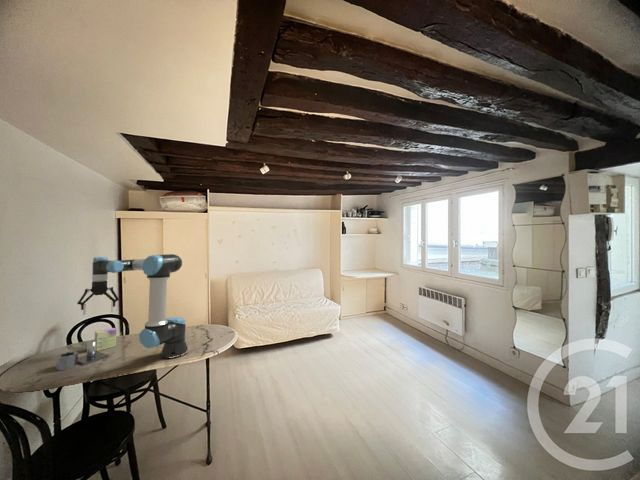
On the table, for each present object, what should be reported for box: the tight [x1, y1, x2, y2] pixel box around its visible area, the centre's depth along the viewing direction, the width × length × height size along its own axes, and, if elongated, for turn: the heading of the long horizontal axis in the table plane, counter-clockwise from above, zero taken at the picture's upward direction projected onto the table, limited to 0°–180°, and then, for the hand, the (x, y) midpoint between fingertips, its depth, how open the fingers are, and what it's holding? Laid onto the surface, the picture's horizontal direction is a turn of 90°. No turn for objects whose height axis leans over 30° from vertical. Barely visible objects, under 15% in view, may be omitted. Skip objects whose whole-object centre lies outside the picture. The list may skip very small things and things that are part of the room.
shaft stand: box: [78, 340, 109, 366], centre depth 153 cm, size 12×12×10 cm
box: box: [94, 327, 118, 352], centre depth 170 cm, size 10×6×12 cm, turn 145°
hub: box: [55, 351, 79, 372], centre depth 143 cm, size 8×8×7 cm
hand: (98, 313), depth 163 cm, fingers open, 13 cm apart
